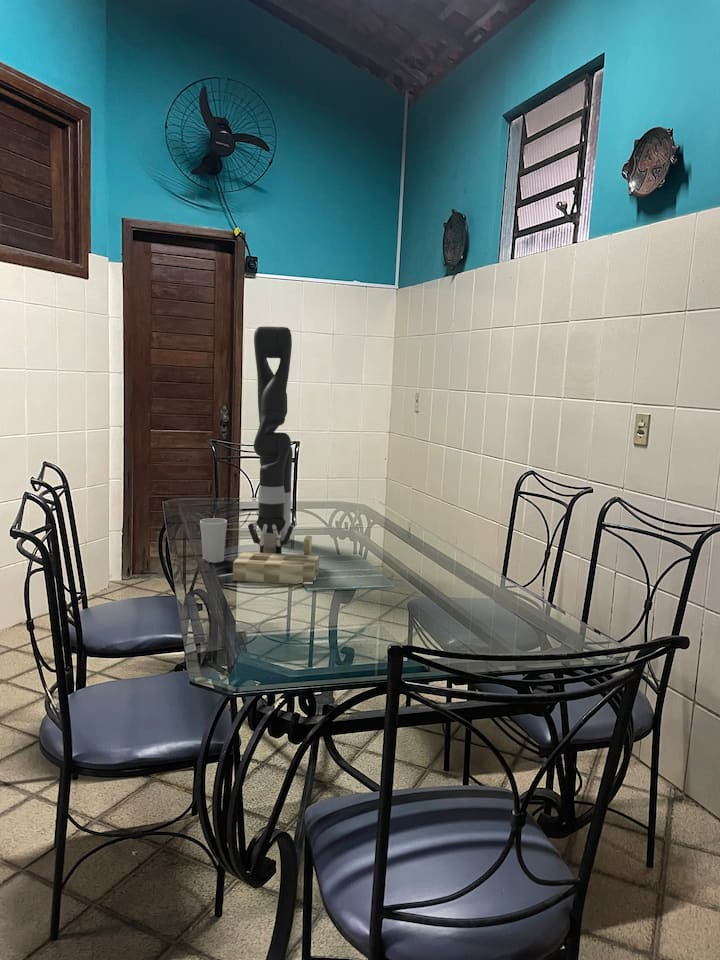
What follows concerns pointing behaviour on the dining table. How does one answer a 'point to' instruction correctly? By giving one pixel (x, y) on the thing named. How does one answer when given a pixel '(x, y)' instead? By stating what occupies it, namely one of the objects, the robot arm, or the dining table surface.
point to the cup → (213, 539)
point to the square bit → (270, 542)
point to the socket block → (275, 567)
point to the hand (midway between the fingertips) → (270, 557)
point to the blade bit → (307, 545)
